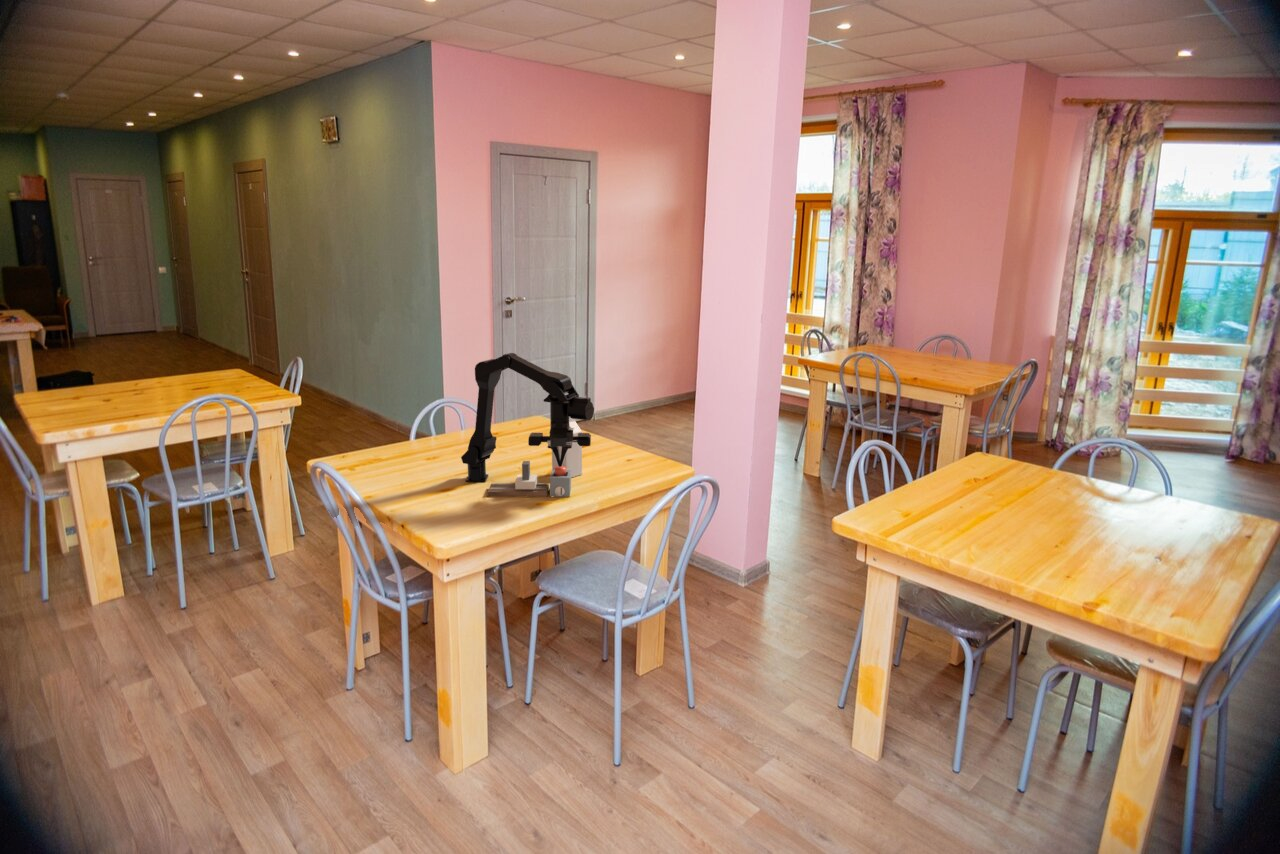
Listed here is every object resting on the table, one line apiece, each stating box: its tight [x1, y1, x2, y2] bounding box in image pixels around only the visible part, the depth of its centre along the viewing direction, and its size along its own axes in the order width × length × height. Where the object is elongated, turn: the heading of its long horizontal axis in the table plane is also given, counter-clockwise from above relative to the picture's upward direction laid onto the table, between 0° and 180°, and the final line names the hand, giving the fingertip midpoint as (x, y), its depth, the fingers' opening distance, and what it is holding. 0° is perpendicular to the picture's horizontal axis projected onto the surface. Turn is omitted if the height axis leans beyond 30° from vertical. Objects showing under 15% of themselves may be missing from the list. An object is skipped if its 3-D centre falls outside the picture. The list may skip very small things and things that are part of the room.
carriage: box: [514, 460, 538, 489], centre depth 234 cm, size 7×6×7 cm
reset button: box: [555, 466, 566, 476], centre depth 234 cm, size 4×4×3 cm
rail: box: [486, 482, 550, 498], centre depth 235 cm, size 8×18×2 cm, turn 92°
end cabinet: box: [549, 469, 572, 498], centre depth 235 cm, size 8×6×6 cm
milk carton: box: [551, 417, 583, 478], centre depth 251 cm, size 7×7×19 cm
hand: (560, 466), depth 234 cm, fingers closed
